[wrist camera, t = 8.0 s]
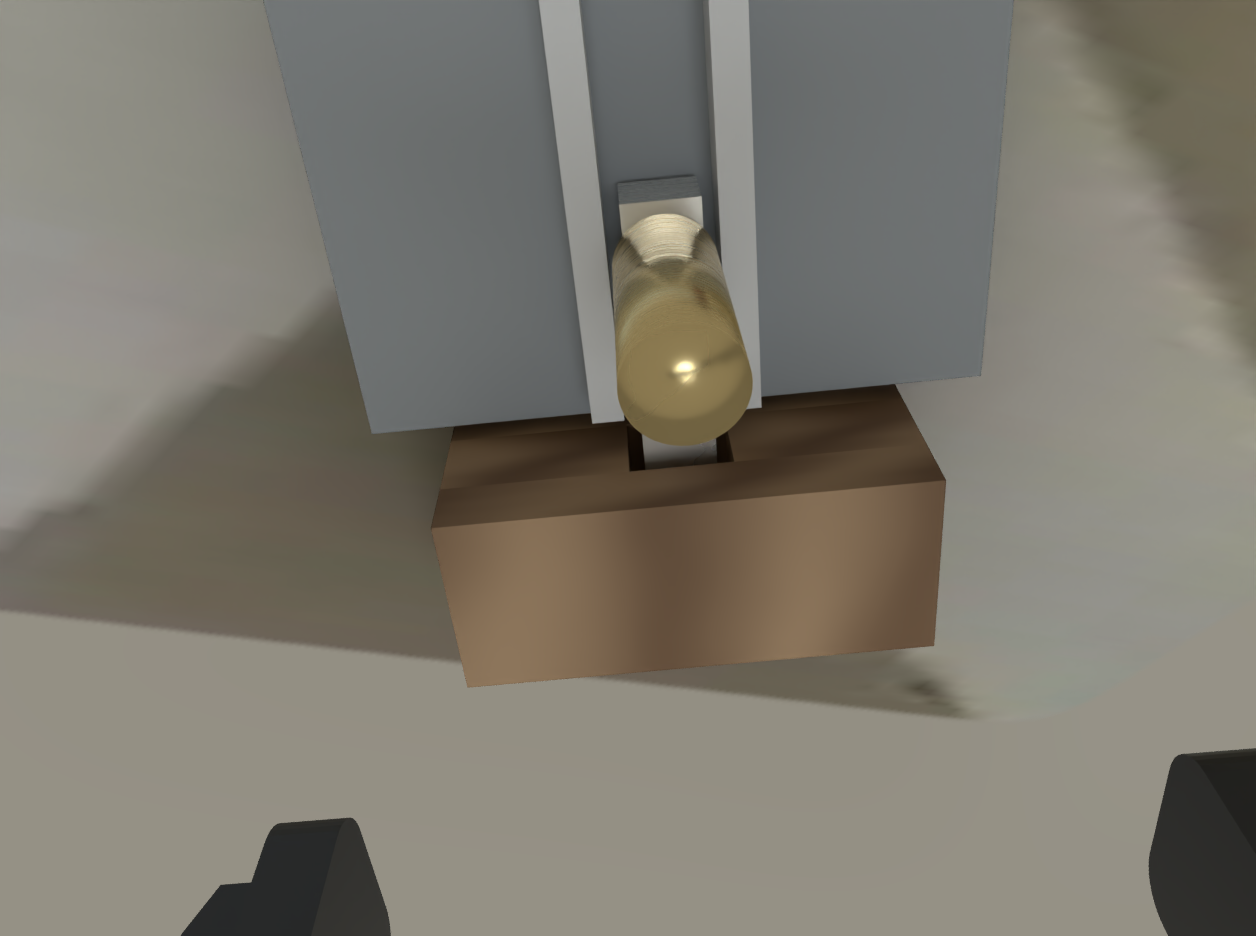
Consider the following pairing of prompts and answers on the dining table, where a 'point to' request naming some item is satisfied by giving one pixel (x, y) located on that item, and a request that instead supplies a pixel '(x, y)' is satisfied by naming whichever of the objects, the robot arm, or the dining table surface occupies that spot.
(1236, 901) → the robot arm
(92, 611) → the dining table surface
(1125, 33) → the dining table surface
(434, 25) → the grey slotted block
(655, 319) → the bolt
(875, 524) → the jamb keeper
